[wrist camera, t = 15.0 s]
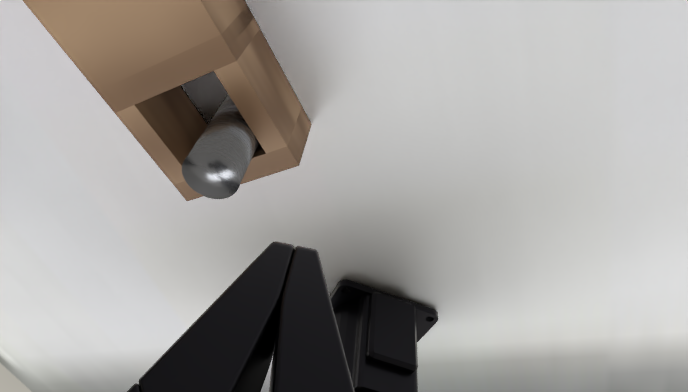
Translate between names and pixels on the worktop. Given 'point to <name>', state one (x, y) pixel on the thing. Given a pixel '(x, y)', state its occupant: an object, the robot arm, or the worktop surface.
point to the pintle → (220, 154)
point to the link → (180, 74)
